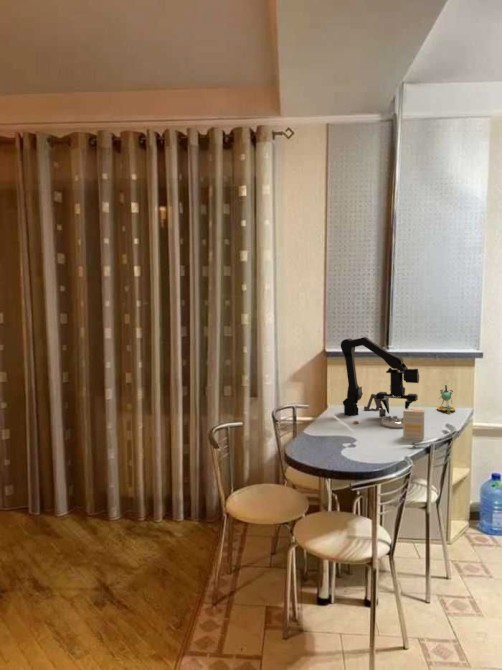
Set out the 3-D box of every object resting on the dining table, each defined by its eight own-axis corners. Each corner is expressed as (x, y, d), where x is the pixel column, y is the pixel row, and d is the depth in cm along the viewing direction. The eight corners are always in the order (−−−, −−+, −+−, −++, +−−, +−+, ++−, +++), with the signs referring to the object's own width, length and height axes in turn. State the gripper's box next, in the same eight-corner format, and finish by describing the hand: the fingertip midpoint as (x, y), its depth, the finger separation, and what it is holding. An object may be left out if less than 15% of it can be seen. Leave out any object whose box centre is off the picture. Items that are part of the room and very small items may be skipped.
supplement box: (424, 440, 215) (425, 409, 214) (423, 443, 211) (423, 412, 210) (404, 437, 219) (404, 408, 218) (402, 440, 214) (403, 410, 213)
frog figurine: (433, 413, 263) (434, 385, 263) (437, 410, 279) (438, 383, 279) (453, 415, 258) (454, 386, 259) (456, 411, 274) (457, 384, 275)
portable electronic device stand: (363, 410, 272) (363, 394, 271) (375, 408, 275) (375, 393, 275) (375, 413, 264) (375, 397, 263) (386, 411, 268) (386, 396, 267)
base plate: (359, 434, 224) (359, 430, 224) (350, 421, 248) (350, 417, 248) (428, 434, 223) (428, 430, 223) (413, 421, 247) (413, 417, 247)
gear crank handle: (412, 427, 231) (412, 418, 230) (387, 429, 229) (388, 419, 228) (392, 417, 251) (392, 408, 250) (369, 418, 249) (369, 409, 248)
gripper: (419, 380, 248) (420, 412, 249) (381, 378, 257) (382, 409, 258) (415, 384, 238) (415, 417, 239) (375, 382, 247) (376, 413, 248)
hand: (396, 414), depth 246 cm, fingers open, 8 cm apart
